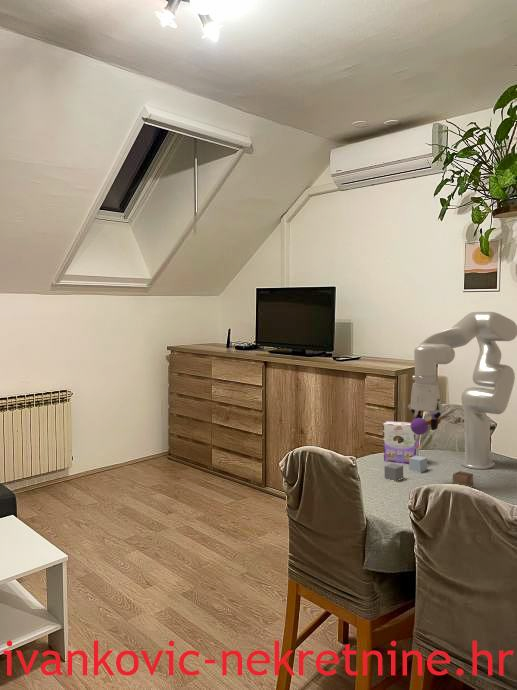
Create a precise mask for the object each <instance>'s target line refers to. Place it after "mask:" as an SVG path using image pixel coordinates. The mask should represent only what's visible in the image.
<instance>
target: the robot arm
mask: <svg viewBox="0 0 517 690" xmlns="http://www.w3.org/2000/svg"><path fill="white" fill-rule="evenodd" d="M474 338H476V342H477V344H478V346H479V347H478V348H479V354H478V357H477V360H476V364H475V366H474V370H473V373H472V382H473V383H474V384H475V385H477V386H479V387H475V386H473V387H468V388H465V389H464V390H463V392H462V394H461V396H460V397H461V405H462V408H463V409H462V411H463V419H464V420H463V421H464V423H463V424H464V458H463V459H461V461H460V463H461V466H463V467H466V468H469V469H475V470H487V469H488V470H489V469H492V468H493V467H495V462H494V461H493V460H491V457H492V456H494V452H493V451H491V430H490V429H491V427H490V426H491V425H490V424H491V423H490V419H489V417H488V415H487V414H491V415H501V414H503V413H504V412H505V411H506V410H507V407H508V404H509V401H510V399H511V396H512V391H513V388H514V385H515V379H516V377H515V371H514V369H513V367H511V366H510V365H507V364H501V360H502V351H501V349H500V347H499V345H498V344H497V343H496V342H511V341H513V340H515V339H516V338H517V323H516V322H515V321H514V320H513V319H511V318H508V317H507V316H505V315H502V314H500V313H499V312H495V311H474V312H469V313H468V314H466V315H465V316H464V317H463V318H462V319H460V320H459V321H458V322H457V323H456V324H454V325H453V326H452V327H450V328H446V329H444V330H442V331H439V332H437V333H433V334H432V335H430V336H428V337H426V338H425V339H424V340H423V341H422V342H420V343H419V345H418V346H416V347H415V348H414V352H413V355H414V357H413V358H414V375H412V380H414V382H413V383H412V385H411V386H412V387H411V394H410V403H409V404H407V408H408V409H409V410H410V411H411V413H412V414H413V417H415V419H416V418H422V419H423V416H422V412H427V413H430V416H431V418H432V419H431V418H430V419H431V425H430V430H431V431H435V430H438V428H439V424H438V418H440V417H441V416H442V415H443V414H444V413H446V412H447V411H446V408H445V407H444V405H443V404H442V401H441V393H440V386H439V383H437V365H447V364H450V363H451V362H453V361H454V359H455V358H456V352H455V349H456V348H460V347H461V348H462V347H464V346H466V345H468V344H469V343H470V342H471V341H472V340H474ZM485 387H486V388H485Z"/></svg>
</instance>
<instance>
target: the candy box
mask: <svg viewBox="0 0 517 690" xmlns="http://www.w3.org/2000/svg"><path fill="white" fill-rule="evenodd" d="M382 439H383V462H389V461H391V463H399V462H401V463H400V464H409V458H411V457H414V456H420V443H419V441H420V440H419V439H420V438H419V435H418V434H415V433H414V432H413V431H412V430H411V422H406V421H391V420H389V421H388V420H387V421H385V422H384V423H382Z"/></svg>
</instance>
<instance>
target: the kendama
mask: <svg viewBox="0 0 517 690" xmlns="http://www.w3.org/2000/svg"><path fill="white" fill-rule="evenodd" d="M431 419H432V417H431V418H430V419H428V420H426V419H424V418H423V417H422V418H416V417H415V418H414V419H413V420H411V421H410V423H411V430H412V431H413V432H414V433H415V434H418V436H419V435H424V434H425V433H427V431H428V427H429V426H431ZM441 421H442V420H441V418H440V417H439V418H438V425H440V424H441Z"/></svg>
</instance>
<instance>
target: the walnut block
mask: <svg viewBox="0 0 517 690" xmlns="http://www.w3.org/2000/svg"><path fill="white" fill-rule="evenodd" d="M453 484H459V485H465V486H469V487H471V486H473V487H474V474H473V473H471V472H466V471H462V470H459V471H457V472H454V473H453V474H452V485H453Z"/></svg>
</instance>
